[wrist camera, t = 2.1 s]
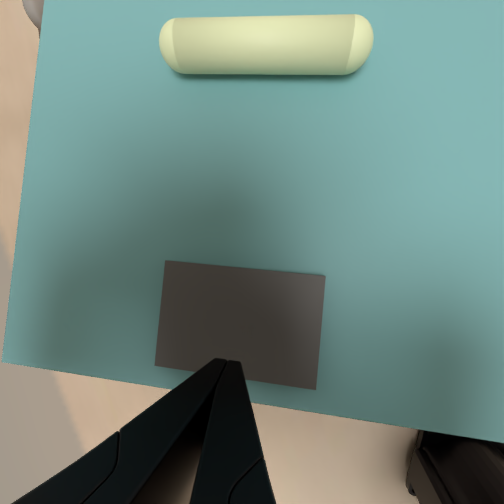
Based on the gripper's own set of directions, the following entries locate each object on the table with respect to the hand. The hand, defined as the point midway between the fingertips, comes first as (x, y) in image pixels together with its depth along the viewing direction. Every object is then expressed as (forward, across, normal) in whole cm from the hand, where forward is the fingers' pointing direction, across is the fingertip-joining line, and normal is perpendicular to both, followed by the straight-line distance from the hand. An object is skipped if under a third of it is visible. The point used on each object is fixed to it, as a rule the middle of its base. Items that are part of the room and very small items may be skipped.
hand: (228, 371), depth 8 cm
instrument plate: (+5, 0, -6) cm, 7 cm away
